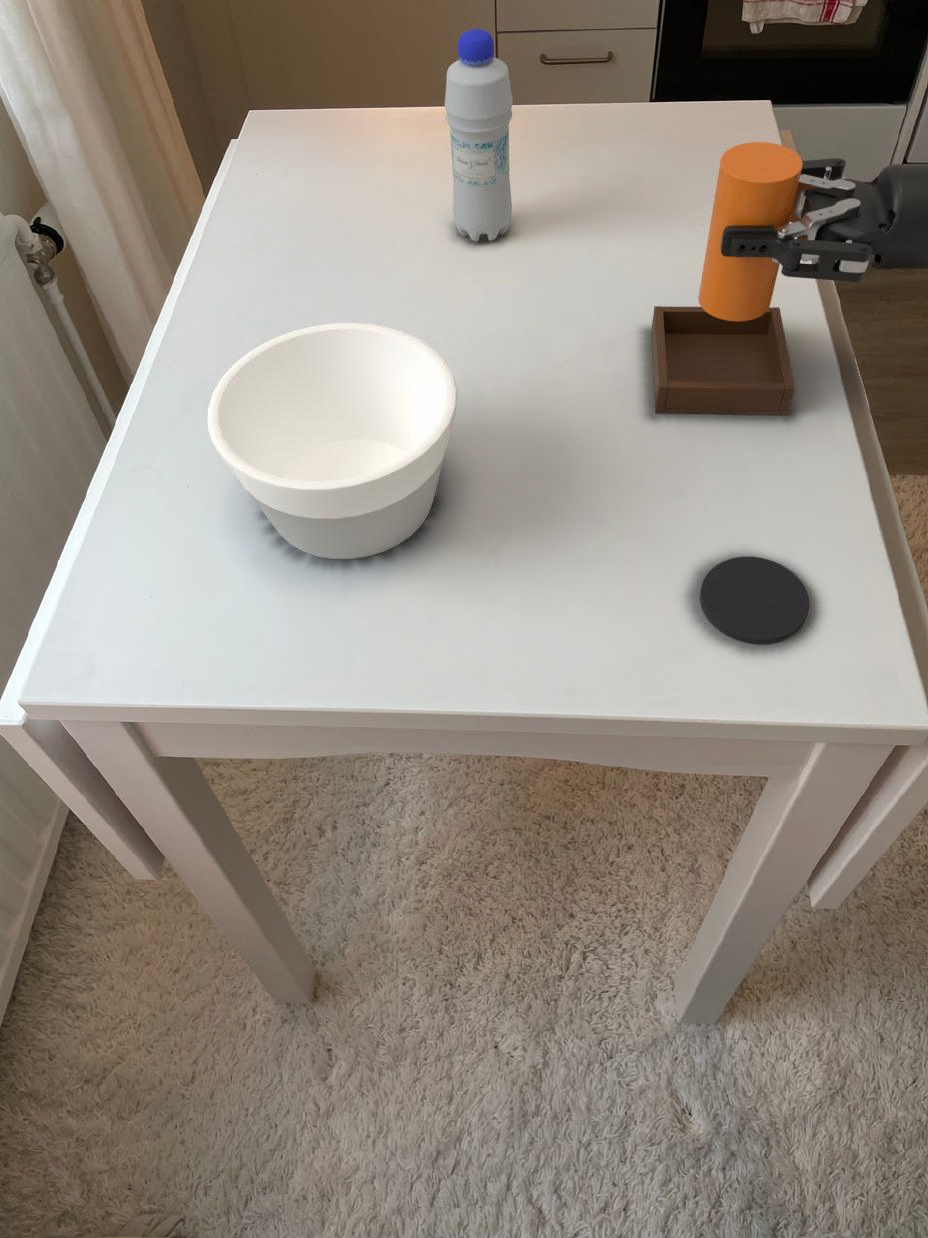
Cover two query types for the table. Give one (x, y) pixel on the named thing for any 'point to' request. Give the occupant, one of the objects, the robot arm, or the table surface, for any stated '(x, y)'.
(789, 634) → the coaster
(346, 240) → the table surface
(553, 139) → the table surface
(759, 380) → the tray
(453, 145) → the bottle
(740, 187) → the orange cylinder
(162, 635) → the table surface
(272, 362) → the bowl
